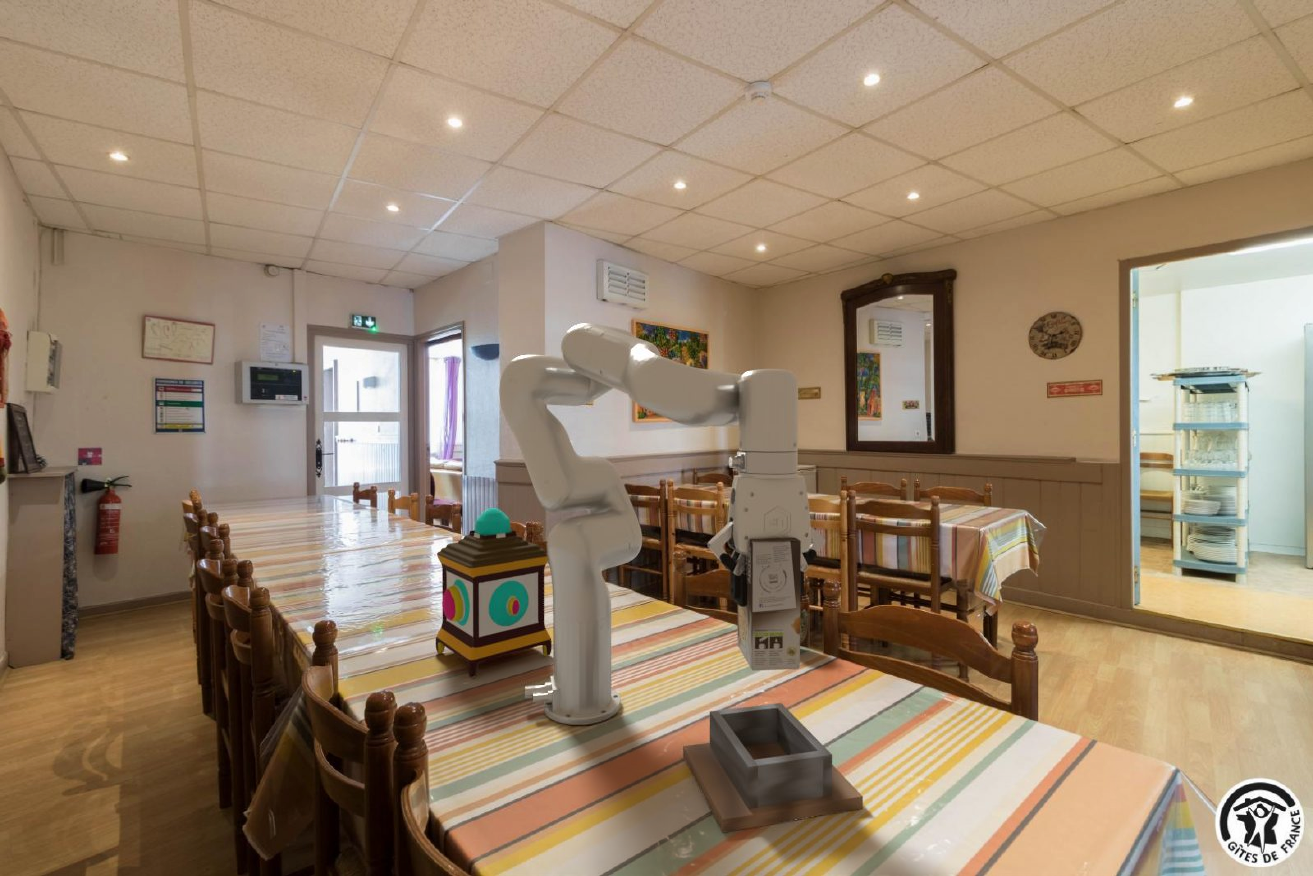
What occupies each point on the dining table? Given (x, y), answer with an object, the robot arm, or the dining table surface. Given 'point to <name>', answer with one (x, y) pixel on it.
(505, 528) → the decorative lantern
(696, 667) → the dining table surface
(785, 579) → the coffee box
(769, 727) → the post socket
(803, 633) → the cup
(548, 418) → the robot arm
